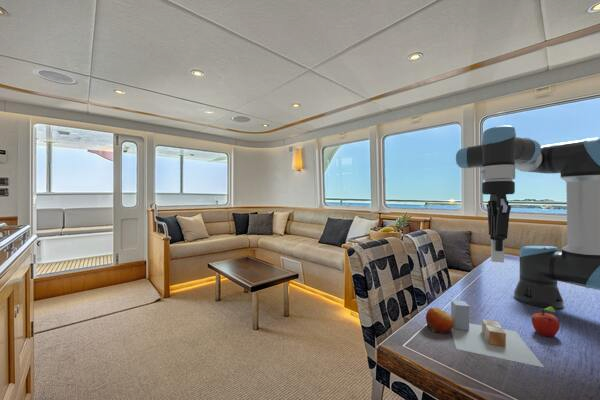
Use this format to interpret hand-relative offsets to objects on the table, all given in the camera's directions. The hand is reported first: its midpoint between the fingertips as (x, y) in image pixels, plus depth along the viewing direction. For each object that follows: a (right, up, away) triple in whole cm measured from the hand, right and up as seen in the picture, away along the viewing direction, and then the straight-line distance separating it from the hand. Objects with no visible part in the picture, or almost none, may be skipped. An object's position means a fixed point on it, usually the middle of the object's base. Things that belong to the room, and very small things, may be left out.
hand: (497, 261), depth 74 cm
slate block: (-5, -24, +9) cm, 26 cm away
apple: (+19, -25, +5) cm, 32 cm away
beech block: (-1, -22, -1) cm, 22 cm away
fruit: (-12, -25, +8) cm, 29 cm away
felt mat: (-1, -24, +2) cm, 25 cm away
